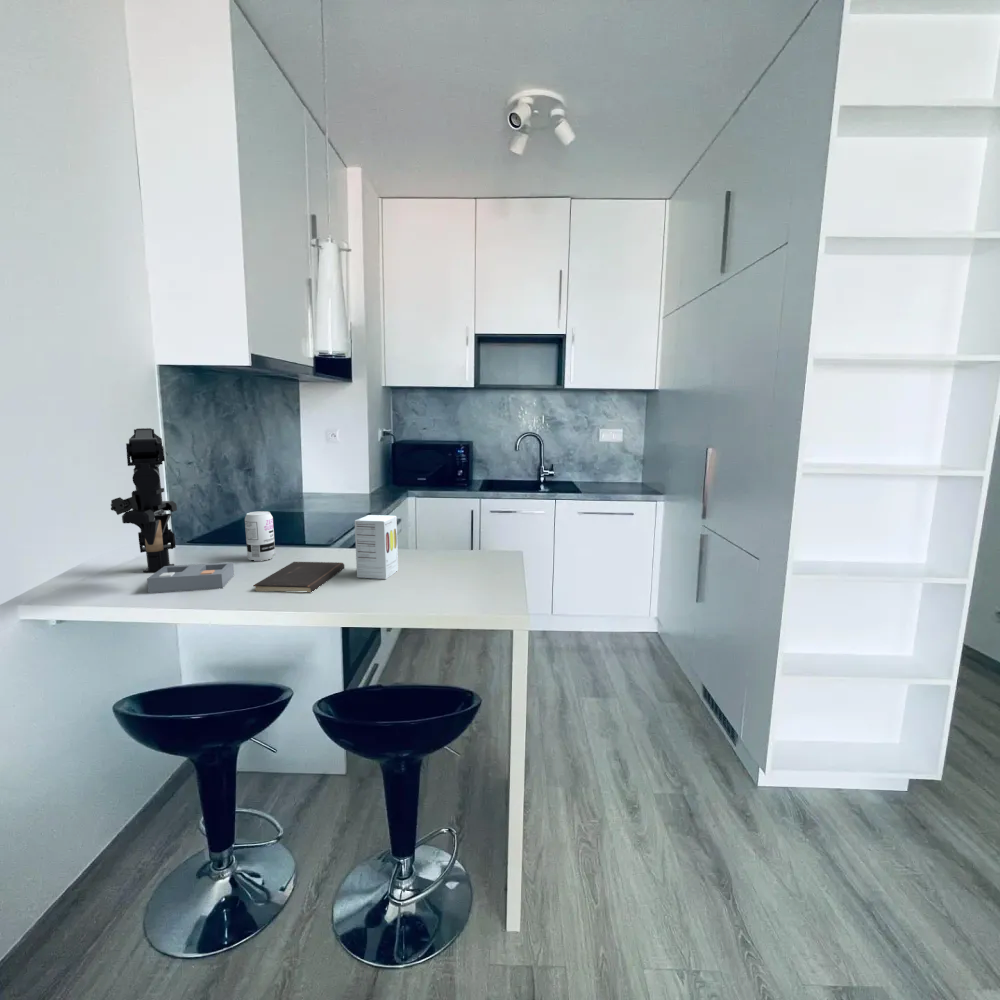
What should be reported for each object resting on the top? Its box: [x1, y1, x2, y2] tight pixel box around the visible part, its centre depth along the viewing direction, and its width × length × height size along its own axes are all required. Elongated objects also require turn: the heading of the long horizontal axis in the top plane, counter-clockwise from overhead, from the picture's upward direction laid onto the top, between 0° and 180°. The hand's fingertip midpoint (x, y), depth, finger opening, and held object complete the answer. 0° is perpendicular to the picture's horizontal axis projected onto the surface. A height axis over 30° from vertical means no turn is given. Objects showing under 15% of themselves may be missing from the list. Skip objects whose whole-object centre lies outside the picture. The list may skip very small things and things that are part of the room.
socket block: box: [146, 561, 235, 594], centre depth 152 cm, size 12×18×4 cm, turn 102°
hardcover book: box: [253, 561, 345, 593], centre depth 156 cm, size 16×23×2 cm
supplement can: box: [244, 510, 276, 562], centre depth 176 cm, size 8×8×15 cm
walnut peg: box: [145, 520, 164, 553], centre depth 148 cm, size 4×4×8 cm
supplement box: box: [354, 514, 399, 580], centre depth 159 cm, size 10×9×17 cm
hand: (154, 542), depth 148 cm, fingers closed on walnut peg, 4 cm apart
